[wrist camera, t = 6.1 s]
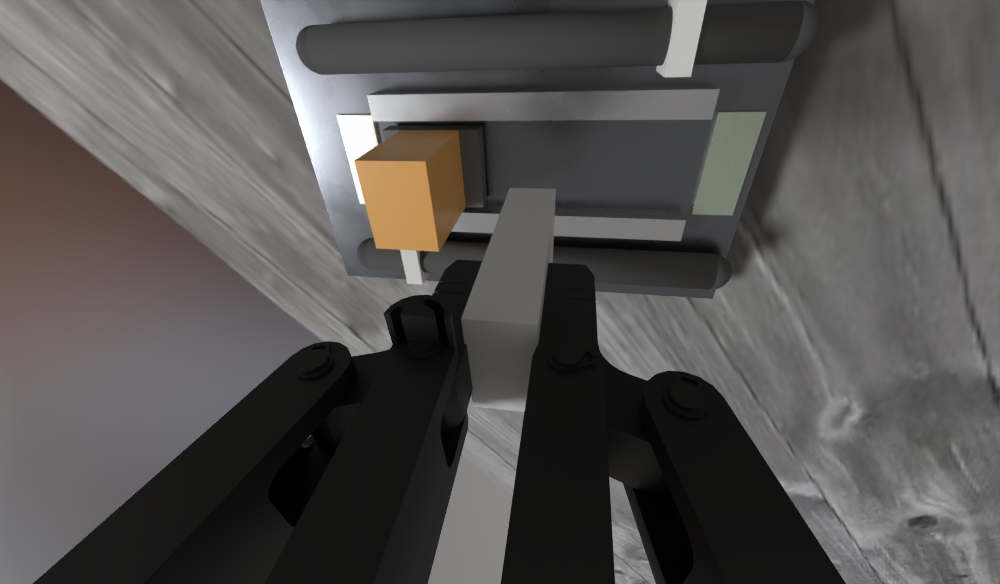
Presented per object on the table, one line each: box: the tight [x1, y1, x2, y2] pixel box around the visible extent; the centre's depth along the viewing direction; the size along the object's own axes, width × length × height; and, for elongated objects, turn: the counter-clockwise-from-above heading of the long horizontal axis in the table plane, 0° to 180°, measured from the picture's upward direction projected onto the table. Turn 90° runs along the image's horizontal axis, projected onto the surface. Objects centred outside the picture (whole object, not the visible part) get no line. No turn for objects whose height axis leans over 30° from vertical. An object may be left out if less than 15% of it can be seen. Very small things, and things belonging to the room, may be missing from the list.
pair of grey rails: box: [296, 0, 821, 290], centre depth 20 cm, size 14×22×2 cm, turn 92°
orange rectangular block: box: [354, 125, 487, 252], centre depth 19 cm, size 4×5×6 cm
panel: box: [260, 0, 815, 299], centre depth 21 cm, size 16×24×3 cm, turn 92°
